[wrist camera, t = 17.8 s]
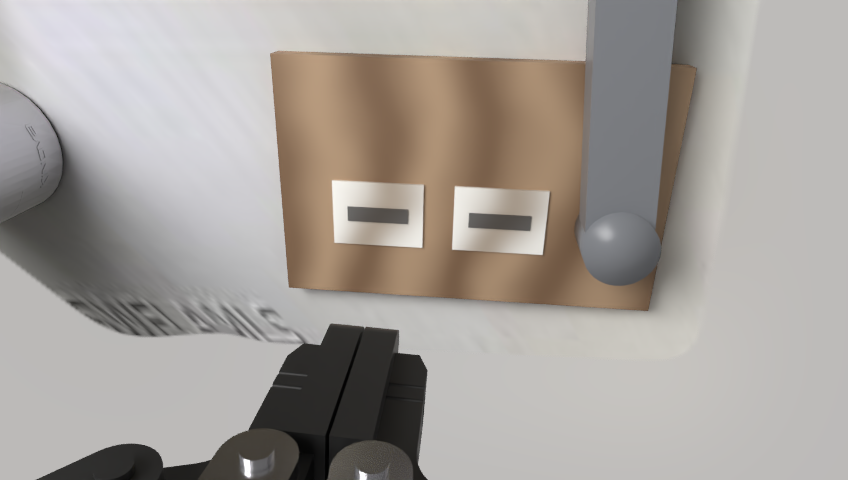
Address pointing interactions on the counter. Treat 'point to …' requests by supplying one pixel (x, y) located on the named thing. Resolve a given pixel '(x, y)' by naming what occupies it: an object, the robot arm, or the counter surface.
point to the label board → (445, 176)
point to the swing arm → (624, 136)
